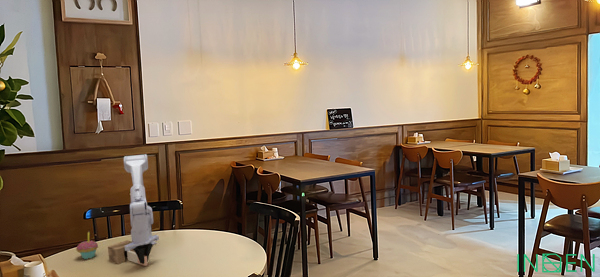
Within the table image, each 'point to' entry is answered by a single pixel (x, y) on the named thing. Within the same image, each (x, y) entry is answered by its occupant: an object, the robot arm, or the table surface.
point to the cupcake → (87, 248)
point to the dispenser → (118, 252)
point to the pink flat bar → (136, 258)
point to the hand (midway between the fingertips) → (144, 262)
